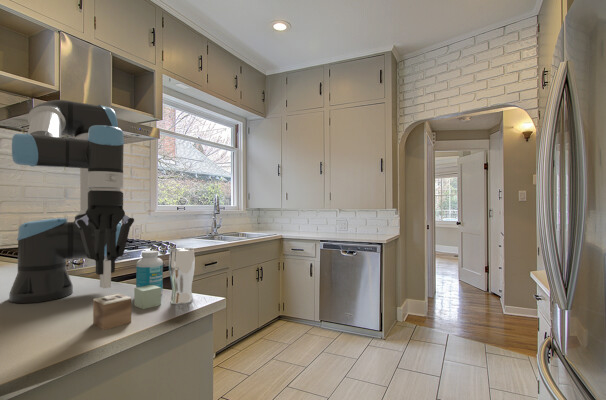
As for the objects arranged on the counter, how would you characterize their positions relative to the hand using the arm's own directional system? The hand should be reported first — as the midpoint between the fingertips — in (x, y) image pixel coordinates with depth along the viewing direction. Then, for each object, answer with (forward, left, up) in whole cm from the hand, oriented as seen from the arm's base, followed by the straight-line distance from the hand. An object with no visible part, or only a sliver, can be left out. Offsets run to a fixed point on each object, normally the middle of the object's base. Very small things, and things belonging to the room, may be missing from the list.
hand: (105, 286), depth 82 cm
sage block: (-3, +12, -8) cm, 15 cm away
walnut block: (+4, 0, -2) cm, 4 cm away
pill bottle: (-12, +17, -8) cm, 23 cm away
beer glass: (+1, +20, -8) cm, 22 cm away
